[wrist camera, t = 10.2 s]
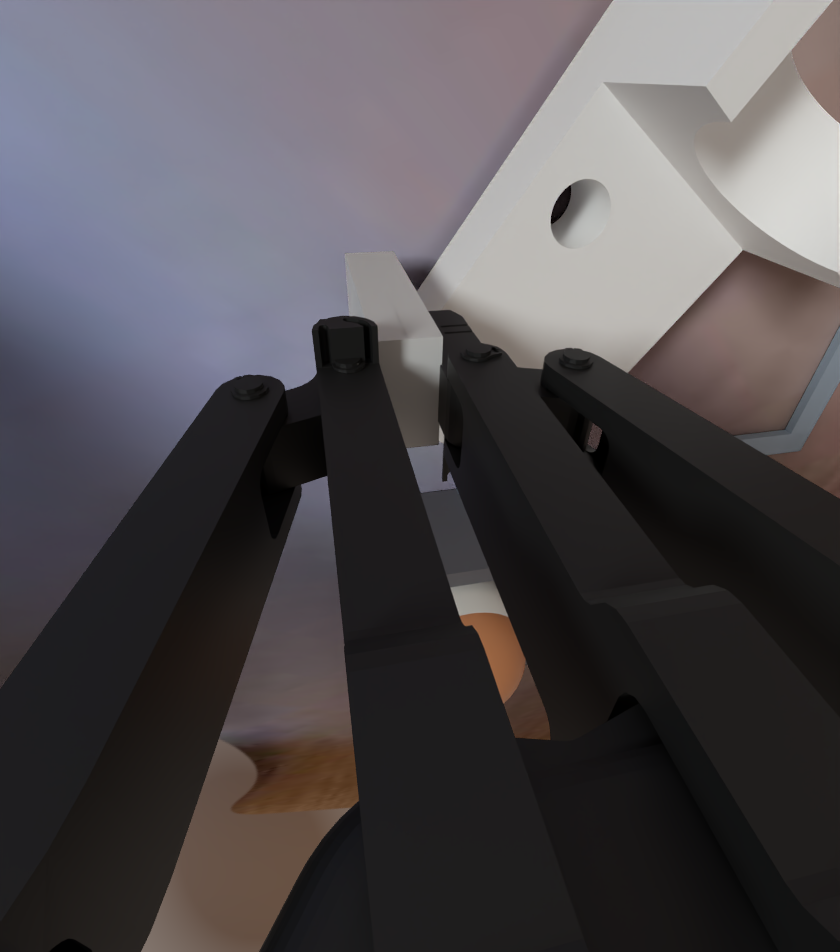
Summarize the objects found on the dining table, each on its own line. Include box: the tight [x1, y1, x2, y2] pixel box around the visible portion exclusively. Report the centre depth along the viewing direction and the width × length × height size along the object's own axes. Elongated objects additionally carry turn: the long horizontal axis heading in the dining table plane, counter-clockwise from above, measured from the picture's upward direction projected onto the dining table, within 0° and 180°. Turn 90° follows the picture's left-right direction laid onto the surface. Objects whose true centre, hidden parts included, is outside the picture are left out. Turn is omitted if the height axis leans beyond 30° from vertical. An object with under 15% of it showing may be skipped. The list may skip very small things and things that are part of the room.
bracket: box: [417, 0, 840, 443], centre depth 16 cm, size 13×7×8 cm, turn 144°
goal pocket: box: [456, 327, 840, 494], centre depth 20 cm, size 18×19×1 cm
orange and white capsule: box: [450, 581, 526, 704], centre depth 23 cm, size 5×5×8 cm
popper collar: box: [421, 489, 527, 665], centre depth 24 cm, size 8×8×5 cm
